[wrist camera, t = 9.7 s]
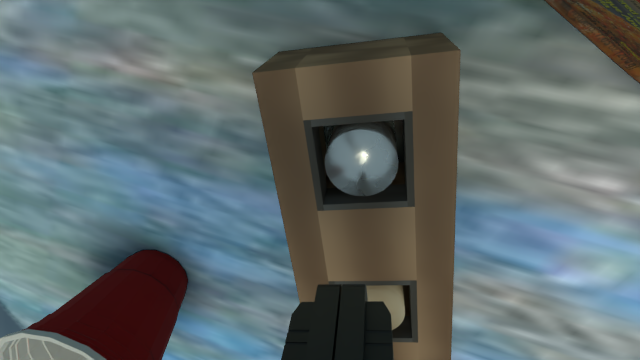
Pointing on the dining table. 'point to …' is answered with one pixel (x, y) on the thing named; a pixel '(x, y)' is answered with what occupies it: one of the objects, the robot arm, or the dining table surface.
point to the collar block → (386, 206)
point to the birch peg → (389, 300)
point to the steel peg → (362, 157)
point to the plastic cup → (110, 316)
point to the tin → (608, 28)
